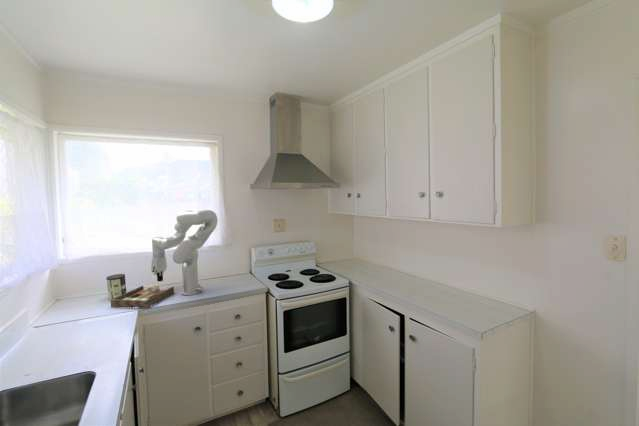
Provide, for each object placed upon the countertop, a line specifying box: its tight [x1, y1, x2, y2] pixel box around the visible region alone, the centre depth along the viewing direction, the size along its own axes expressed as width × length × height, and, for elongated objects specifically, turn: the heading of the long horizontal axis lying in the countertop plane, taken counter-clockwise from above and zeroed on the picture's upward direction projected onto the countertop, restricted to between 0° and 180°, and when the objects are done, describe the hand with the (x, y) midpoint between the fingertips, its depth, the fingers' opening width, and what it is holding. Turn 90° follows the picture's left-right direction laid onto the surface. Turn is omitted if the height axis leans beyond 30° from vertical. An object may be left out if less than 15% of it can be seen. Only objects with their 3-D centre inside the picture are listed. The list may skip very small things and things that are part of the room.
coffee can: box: [105, 273, 128, 300], centre depth 194 cm, size 10×10×14 cm
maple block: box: [146, 284, 161, 293], centre depth 195 cm, size 5×5×4 cm
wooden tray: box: [109, 285, 175, 309], centre depth 187 cm, size 24×25×4 cm
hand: (160, 280), depth 203 cm, fingers closed
